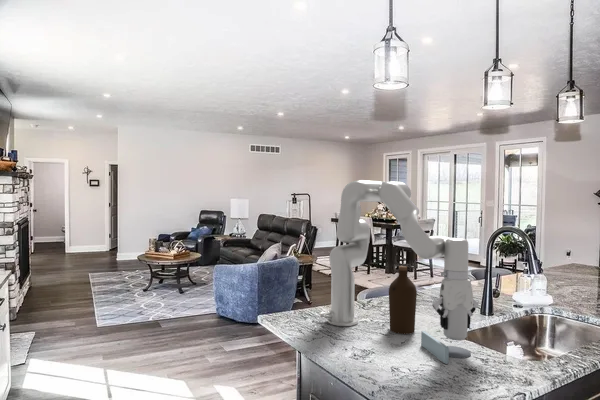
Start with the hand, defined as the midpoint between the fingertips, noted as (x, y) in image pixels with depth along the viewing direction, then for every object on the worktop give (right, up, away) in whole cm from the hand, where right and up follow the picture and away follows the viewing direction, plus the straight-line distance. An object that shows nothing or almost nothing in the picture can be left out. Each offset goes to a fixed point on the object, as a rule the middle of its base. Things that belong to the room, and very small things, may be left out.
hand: (455, 327), depth 141 cm
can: (0, -4, 0) cm, 4 cm away
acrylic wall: (-7, -8, -1) cm, 11 cm away
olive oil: (-12, -8, +22) cm, 27 cm away
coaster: (0, -9, 0) cm, 9 cm away
